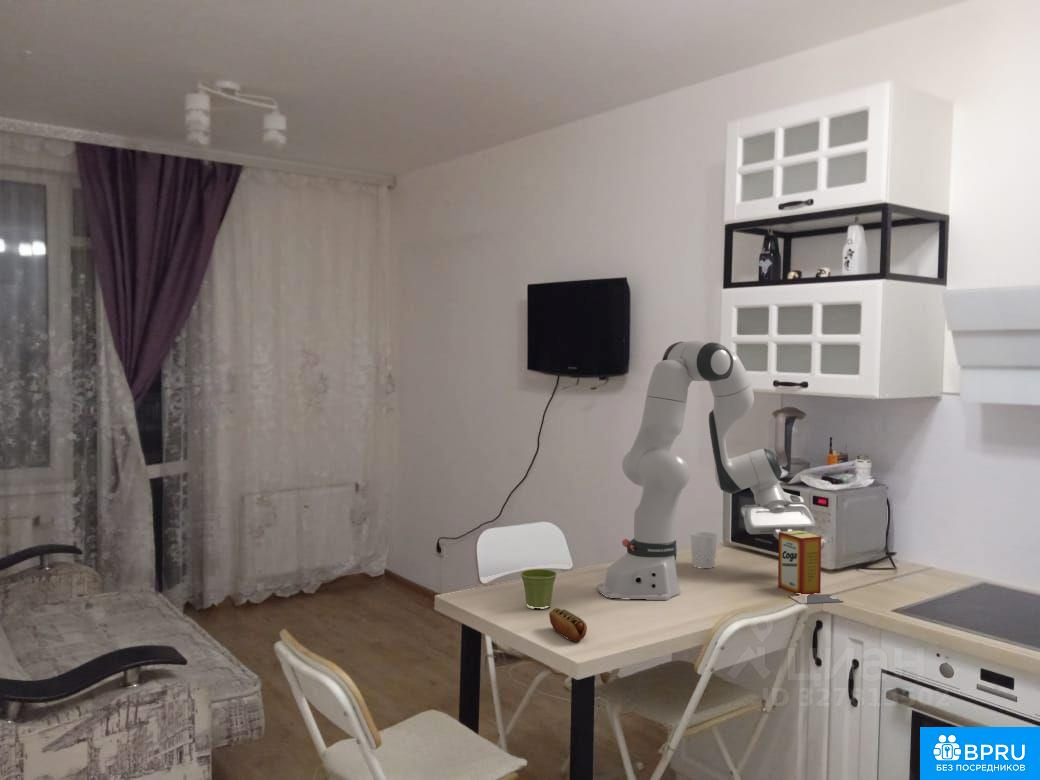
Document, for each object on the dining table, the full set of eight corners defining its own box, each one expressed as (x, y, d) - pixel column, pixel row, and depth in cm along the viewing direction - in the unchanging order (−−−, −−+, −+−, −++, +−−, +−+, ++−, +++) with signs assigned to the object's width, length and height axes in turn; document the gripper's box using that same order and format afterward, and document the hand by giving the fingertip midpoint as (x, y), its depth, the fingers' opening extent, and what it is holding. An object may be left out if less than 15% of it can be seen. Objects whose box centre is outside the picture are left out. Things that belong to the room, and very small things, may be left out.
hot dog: (565, 625, 198) (565, 605, 198) (591, 643, 186) (592, 621, 186) (546, 628, 196) (546, 607, 196) (572, 646, 184) (572, 623, 184)
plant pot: (512, 606, 214) (512, 572, 214) (540, 599, 220) (540, 567, 220) (536, 614, 207) (536, 579, 207) (564, 607, 213) (564, 573, 213)
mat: (800, 604, 216) (800, 603, 216) (787, 596, 223) (787, 595, 223) (843, 602, 218) (843, 601, 218) (829, 594, 225) (829, 594, 225)
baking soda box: (820, 593, 226) (821, 535, 226) (801, 596, 224) (801, 537, 224) (797, 585, 235) (797, 528, 235) (778, 587, 233) (778, 530, 232)
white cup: (714, 563, 260) (715, 531, 260) (718, 569, 252) (718, 537, 252) (689, 563, 261) (689, 531, 261) (691, 569, 253) (692, 536, 253)
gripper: (742, 498, 242) (756, 539, 232) (807, 497, 245) (824, 537, 235) (735, 511, 246) (749, 551, 237) (800, 509, 249) (816, 549, 240)
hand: (787, 544), depth 236 cm, fingers closed
